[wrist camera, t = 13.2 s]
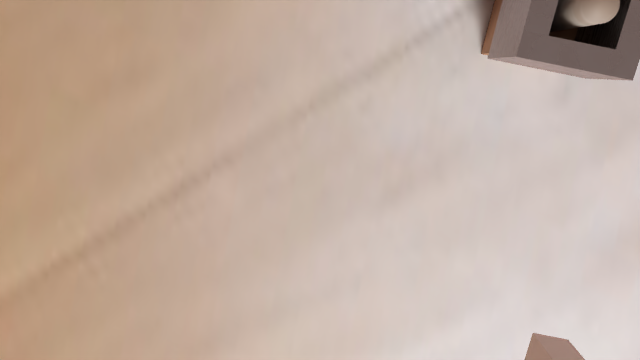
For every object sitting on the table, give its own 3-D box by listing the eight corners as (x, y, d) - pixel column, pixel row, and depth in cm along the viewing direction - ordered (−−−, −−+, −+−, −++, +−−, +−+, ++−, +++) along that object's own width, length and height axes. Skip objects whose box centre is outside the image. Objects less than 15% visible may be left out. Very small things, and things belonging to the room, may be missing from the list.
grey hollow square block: (514, -48, 35) (550, -70, 29) (617, -27, 35) (672, -45, 29) (487, 58, 37) (516, 56, 31) (585, 78, 37) (632, 80, 31)
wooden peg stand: (501, -28, 39) (564, -63, 28) (580, -12, 39) (672, -42, 29) (481, 53, 40) (533, 49, 30) (557, 69, 41) (636, 70, 30)
